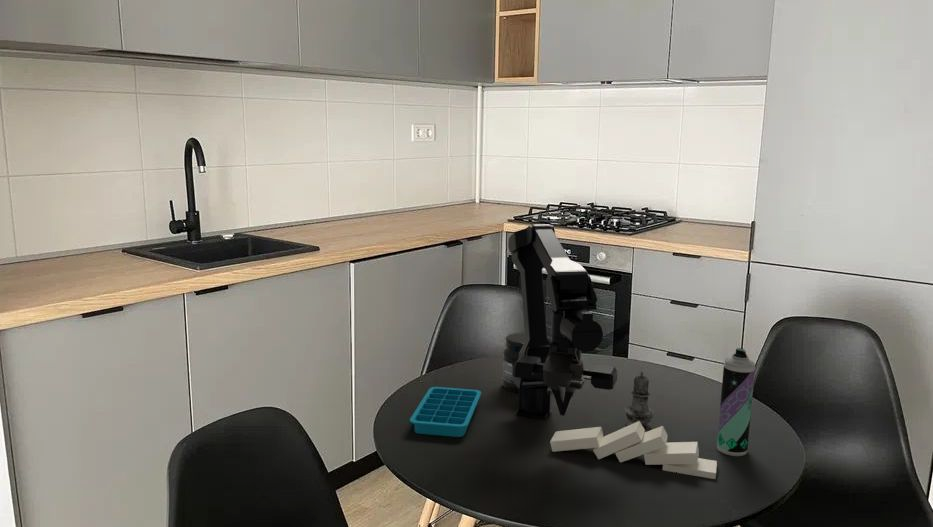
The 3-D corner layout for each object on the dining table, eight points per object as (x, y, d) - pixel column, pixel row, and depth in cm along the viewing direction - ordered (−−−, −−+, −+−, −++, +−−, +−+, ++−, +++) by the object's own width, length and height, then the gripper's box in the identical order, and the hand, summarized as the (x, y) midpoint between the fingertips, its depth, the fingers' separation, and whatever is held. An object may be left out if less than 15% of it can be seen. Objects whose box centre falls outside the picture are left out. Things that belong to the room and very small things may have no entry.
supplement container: (551, 382, 173) (553, 334, 170) (541, 397, 163) (542, 346, 161) (508, 377, 176) (510, 329, 174) (496, 391, 166) (497, 341, 164)
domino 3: (615, 453, 131) (660, 436, 128) (618, 442, 136) (662, 425, 133) (620, 462, 131) (665, 446, 128) (623, 451, 136) (667, 435, 133)
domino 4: (643, 454, 130) (695, 453, 126) (647, 443, 134) (697, 441, 131) (645, 464, 130) (697, 463, 126) (648, 453, 134) (699, 452, 131)
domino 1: (550, 441, 135) (596, 437, 132) (556, 431, 140) (601, 426, 137) (552, 451, 136) (599, 447, 132) (558, 441, 140) (603, 436, 137)
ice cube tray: (408, 436, 142) (408, 421, 142) (430, 399, 162) (430, 386, 161) (466, 441, 140) (466, 426, 140) (481, 403, 160) (482, 390, 159)
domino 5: (662, 464, 129) (716, 473, 126) (665, 452, 133) (716, 460, 130) (662, 474, 129) (715, 483, 126) (664, 462, 134) (716, 471, 131)
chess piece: (653, 434, 144) (657, 377, 141) (623, 432, 145) (627, 375, 143) (652, 423, 149) (656, 368, 147) (623, 420, 150) (626, 365, 148)
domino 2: (593, 450, 133) (636, 431, 129) (597, 439, 137) (639, 420, 134) (598, 459, 133) (641, 440, 129) (602, 448, 137) (644, 430, 134)
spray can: (712, 444, 140) (720, 345, 136) (739, 443, 140) (748, 344, 137) (724, 456, 134) (733, 354, 131) (752, 455, 135) (762, 353, 131)
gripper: (505, 341, 129) (503, 423, 132) (610, 353, 123) (605, 439, 126) (522, 326, 139) (520, 402, 142) (619, 336, 133) (615, 416, 136)
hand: (563, 415), depth 136 cm, fingers closed
